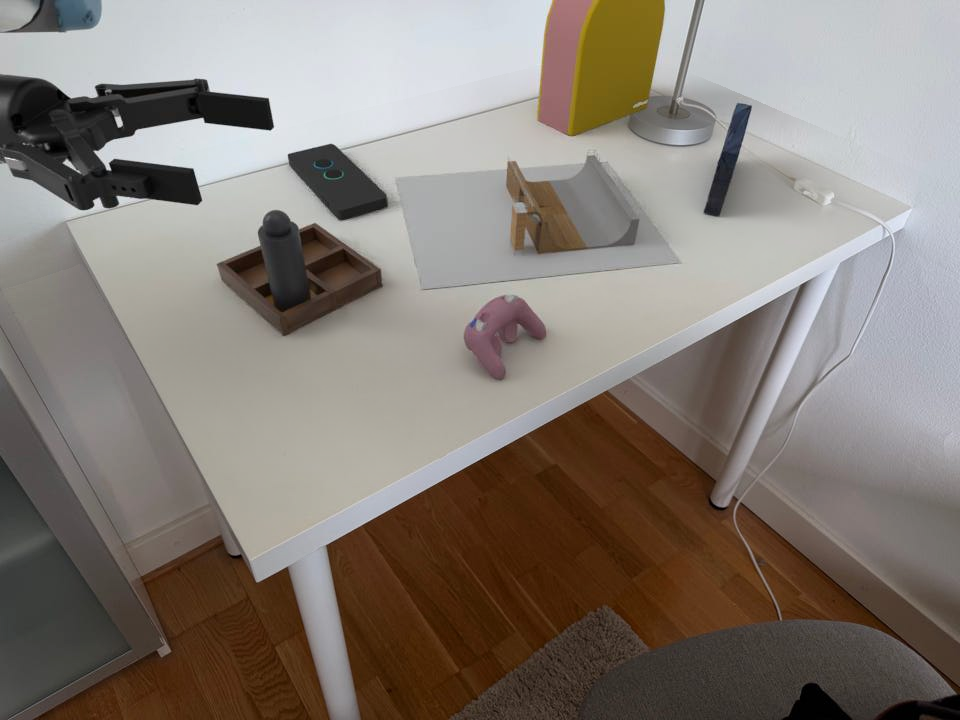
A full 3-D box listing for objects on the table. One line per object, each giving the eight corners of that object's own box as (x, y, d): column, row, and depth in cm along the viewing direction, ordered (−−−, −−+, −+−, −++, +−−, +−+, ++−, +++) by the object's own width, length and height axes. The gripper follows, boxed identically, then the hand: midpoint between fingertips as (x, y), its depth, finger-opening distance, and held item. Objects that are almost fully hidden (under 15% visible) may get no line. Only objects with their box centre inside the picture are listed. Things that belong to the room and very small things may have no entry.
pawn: (286, 318, 80) (267, 227, 72) (266, 300, 83) (245, 210, 74) (318, 302, 83) (303, 212, 74) (298, 286, 85) (281, 197, 76)
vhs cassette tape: (719, 217, 101) (739, 154, 94) (699, 213, 102) (717, 150, 95) (737, 164, 113) (755, 105, 106) (719, 161, 114) (736, 101, 107)
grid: (283, 336, 79) (279, 318, 77) (221, 280, 87) (216, 263, 85) (382, 286, 87) (381, 269, 85) (317, 238, 94) (315, 222, 92)
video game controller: (521, 334, 83) (502, 283, 80) (551, 335, 80) (533, 281, 77) (473, 380, 77) (450, 326, 74) (504, 383, 74) (481, 327, 71)
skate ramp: (681, 262, 92) (694, 213, 87) (422, 289, 86) (420, 238, 81) (607, 161, 113) (614, 116, 108) (395, 177, 107) (392, 131, 102)
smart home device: (333, 141, 112) (389, 195, 100) (334, 151, 113) (390, 206, 101) (284, 153, 108) (336, 210, 96) (286, 163, 110) (338, 221, 97)
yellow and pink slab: (612, 91, 135) (637, -63, 117) (648, 107, 130) (680, -53, 112) (535, 118, 124) (548, -46, 106) (571, 136, 119) (591, -34, 101)
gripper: (106, 105, 71) (300, 128, 69) (-82, 233, 53) (170, 270, 51) (79, 29, 66) (287, 50, 64) (-139, 141, 48) (139, 177, 46)
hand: (236, 147), depth 57 cm, fingers open, 13 cm apart
